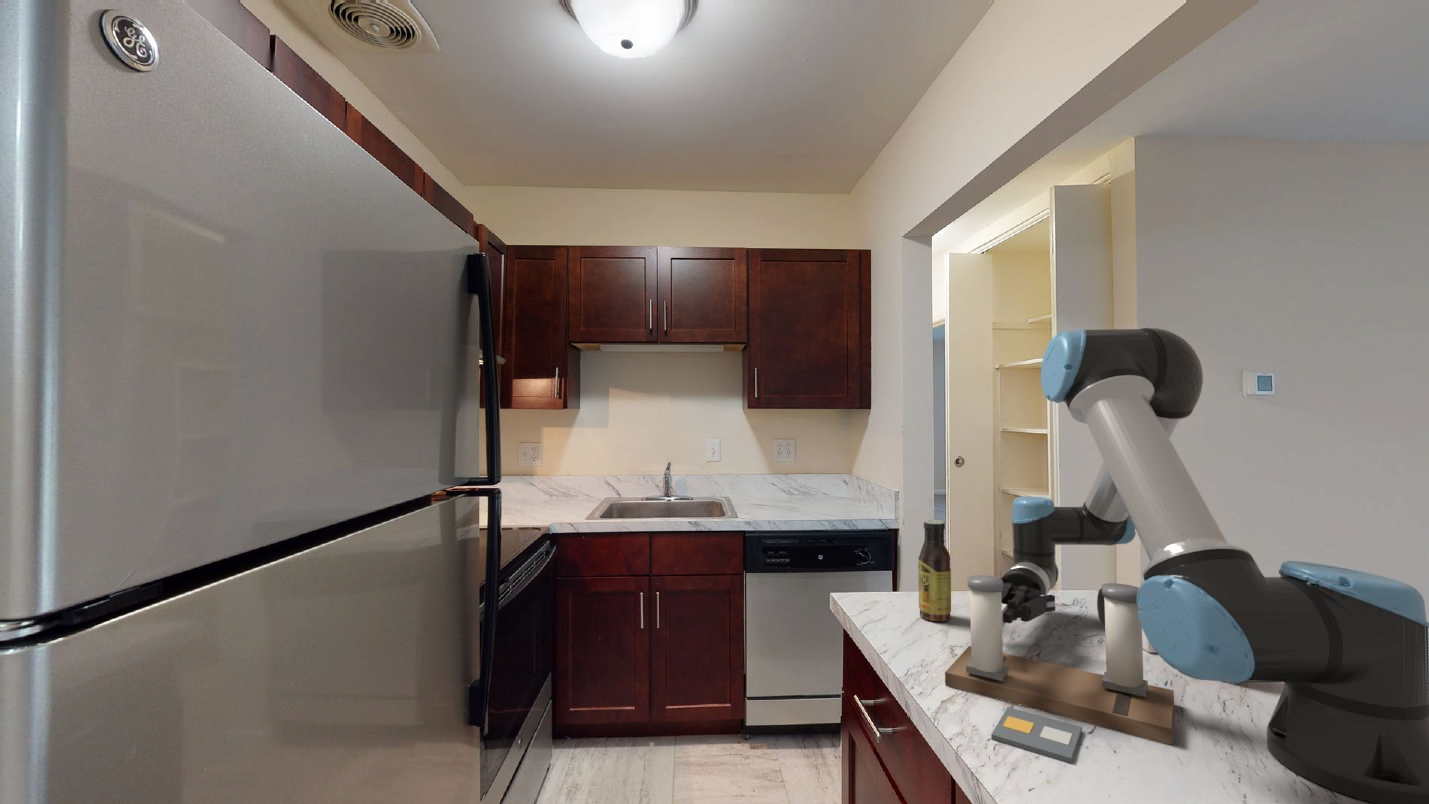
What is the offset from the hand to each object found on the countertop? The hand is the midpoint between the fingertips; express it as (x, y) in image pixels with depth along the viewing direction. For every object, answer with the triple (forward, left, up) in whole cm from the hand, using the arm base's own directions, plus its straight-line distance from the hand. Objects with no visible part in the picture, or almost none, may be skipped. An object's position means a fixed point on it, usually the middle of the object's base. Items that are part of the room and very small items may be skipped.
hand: (993, 622), depth 96 cm
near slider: (-14, -10, -6) cm, 18 cm away
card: (-15, +8, -9) cm, 19 cm away
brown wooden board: (-8, -4, -9) cm, 12 cm away
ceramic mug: (+7, -40, -9) cm, 41 cm away
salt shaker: (-3, -34, -9) cm, 35 cm away
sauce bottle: (+25, -11, -9) cm, 29 cm away
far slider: (-2, +4, -6) cm, 8 cm away
